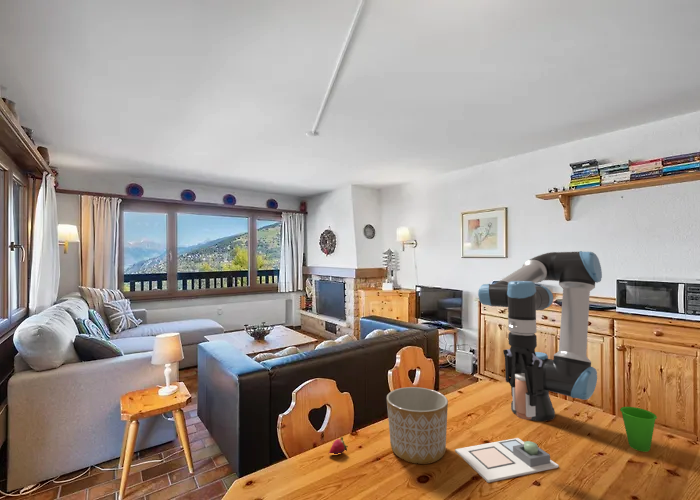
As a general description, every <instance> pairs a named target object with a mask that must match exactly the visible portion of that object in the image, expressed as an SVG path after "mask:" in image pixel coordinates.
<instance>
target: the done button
mask: <svg viewBox="0 0 700 500" xmlns="http://www.w3.org/2000/svg"><path fill="white" fill-rule="evenodd" d="M538 447H539V445H538V444H537V443H536V442H534V441H530V440H527V441H524V452H526V453H527V454H529V455H531V456H532V455H537V454H538Z"/></svg>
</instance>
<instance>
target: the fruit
mask: <svg viewBox="0 0 700 500" xmlns="http://www.w3.org/2000/svg"><path fill="white" fill-rule="evenodd" d="M345 450H346V451H345ZM347 451H348V445H346V443H345V441H344V437H343V436H342V437H340V438H337V439H335V440H334V441H333V443H332V445H331V447H330V449H329V452H328V454H329V453H334V454H338V453H342V452H343V453H344V452H347ZM343 453H342V454H343Z"/></svg>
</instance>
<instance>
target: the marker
mask: <svg viewBox="0 0 700 500" xmlns="http://www.w3.org/2000/svg"><path fill="white" fill-rule="evenodd" d="M526 392H528V391H527V385H526V380H525V374H524V373H516V374H515V397H516V411H517V415H516V416H517V417H518V418H519V419H522V420H526V421H527V420H529V419H532V417H526V394H525V393H526Z"/></svg>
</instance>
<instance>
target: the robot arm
mask: <svg viewBox="0 0 700 500" xmlns="http://www.w3.org/2000/svg"><path fill="white" fill-rule="evenodd" d="M600 262H601V261H600V260H599V257H598V256H597V254H596V253H594V251H593V252H592V251H582V250H580V251H560V252H559V251H558V252H557V251H556V252H555V251H552V252H546V253H542V254H539V255H537V256H534V257H532V258H530V259H529V260H527V261H525V262H524V263H523V264H522V265H521V267H520V268H518V269H517V270H515V271H513V272H512V273H510V274H508V275H507V276H505V277H504V278H501V279H500V280H498V281H497V282H495V283H485V284H484V283H483V284H481V285H480V286H479V288H478V291H477V295H478V301H479V302H480V304H482V305H483V306H489V307H500V308H507V313H508V315H507V319H508V320H507V322H508V323H507V324H508V327H507V330H508V334H507V335H508V338H507V339H508V345H509V346H510V347H509V348H507V349H503V351H502V352H503V353H502V354H503V356H504V368H505V369H504V371H505V372H504V373H505V375H504V377H505V382H506V383H508V384H509V386H511V387H510V388H511V397H512V401H511V402H510V403H511V404H510V406H511V407H510V409H511V410H510V411H512V413H513V414H514V415H516V416H517V411H516V397H515V374H516V373H524V374H525V380H526V385H527V391H528V392H526V393H525V394H526V417H532V419H529V420H530V421H535V422H548V421H549V422H550V421H552V420H554V419H555V417H556V414H555V413H556V412H555V408H554V406H553V402H552V400H551V397H550V393H549V392H552V393H556V394H559V395H563V396H566V397H570V398H573V399H580V400H582V401H584V400H589V399H591V397H592V396H593V395H594V392H595V389H596V387H597V383H598V382H597V381H598V372H597V369H596V368H595V367H594V366H592V361H591V360H590V359H589V358H588V356H587V353H588V352H587V349H588V333H589V331H588V330H589V313H590V311H589V310H590V297H591V295H590V294H591V291H592V290H594V289H595V288H596V284H598V283H601V281H602V278H603V274H602V273H603V272H602V266H601V263H600ZM544 281H554V282H555V281H556V282H558V286H560V287H561V288H562V300H561V302H562V303H561V312H560V313H561V315H560V328H559V329H560V330H559V344H558V345H559V346H558V351H557V352H556V353H554V354H553V359H550V358H549V355H548V354H547V353H544V352H542V351H541V352H540V351H535V350H536V348H537V347H538V344H537V343H538V342H537V341H538V340H537V335H536V333H537V311H543V310H545V309H548V308H549V307H550V306H551V305H552V304H553V302H554V294H553V293H552V290H551V289H550V288H548V287H546V286H544V285H536V284H537V283H538V284H539V283H541V282H544Z"/></svg>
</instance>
